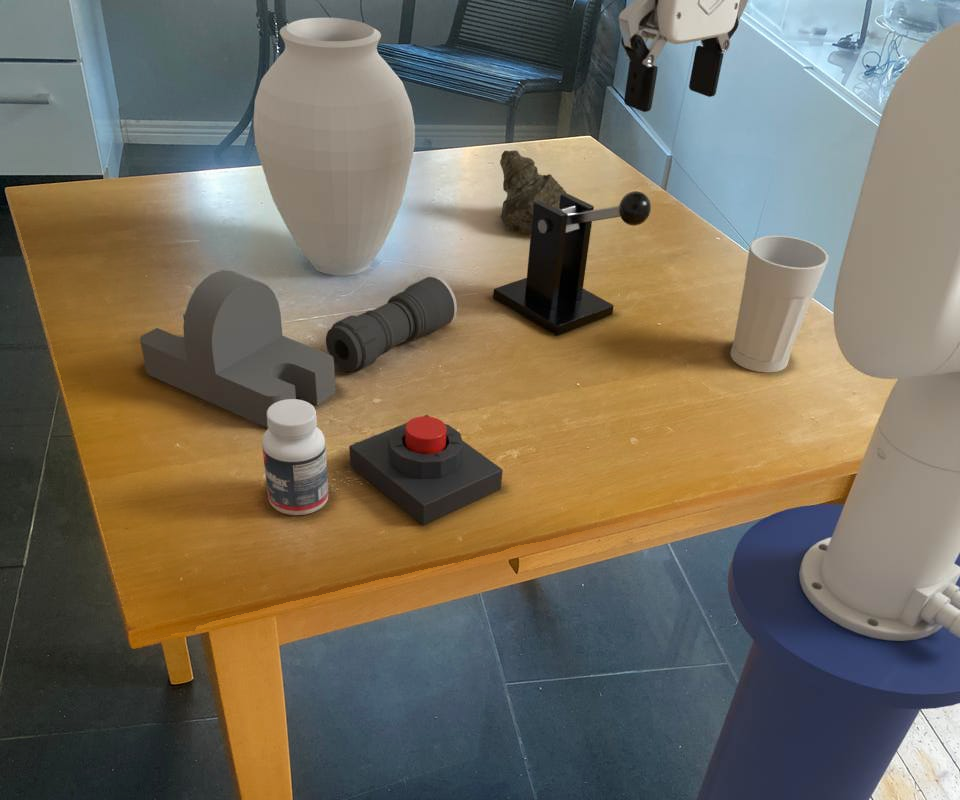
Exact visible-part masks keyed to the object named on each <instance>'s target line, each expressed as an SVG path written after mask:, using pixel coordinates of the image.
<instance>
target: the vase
mask: <svg viewBox="0 0 960 800" xmlns="http://www.w3.org/2000/svg"><path fill="white" fill-rule="evenodd" d="M279 35H280V36H281V38H282V41H283V42H284V46H285V47H284V50H283V52H281V54H280V55H278V57H277V59H276V60H275V61H274V62H273V64H272V65H271V66H270V68H269V69H268V70H267V71H266V73H265V74H264V75H263V77H262V78H261V80H260V83H259V86H258V89H257V92H256V96H255V99H254V107H253V109H254V110H253V136H254V145H255V148H256V152H257V155H258V158H259V161H260V164H261V167H262V171H263V175H264V177H265V180H266V184H267V187H268V191H269V193H270V196H271V199H272V201H273V203H274V205H275V207H276V208H277V211H278V213H279V215H280V217H281V218H282V219H281V220H282V221H283V223H284V224H285V226H286V228H287V230H288V231H289V233H290V235H291V237H292V239H293V241H294V242H295V244H296V245H297V247H298V249H299V250H300V251H301V253H302V254H303V255H304V257H305V258H306V259H308V260H309V262H310V263H311V265H312V267H313V268H314V269H315V270H316V271H317V272H319V273H322V274H325V275H329V276H337V277H348V276H354V275H358V274H361V273H364V272H365V271H367V270H368V269H369V268H370V266H371V263H372V262H373V261H374V259H375V258H376V257H377V255H378V254H379V253H380V251H381V249H382V248H383V246H384V244H385V243H386V241H387V238H388V237H389V234H390V232H391V231H392V228H393V226H394V223H395V221H396V218H397V216H398V213H399V211H400V209H401V206H402V203H403V200H404V197H405V192H406V188H407V182H408V179H409V173H410V169H411V165H412V161H413V156H414V150H415V146H416V145H415V144H416V124H415V118H414V112H413V106H412V103H411V101H410V98H409V95H408V93H407V89H406V88H405V85H404V83H403V81H402V79H401V78H400V77H399V76H398V75H397V74H396V73H395V71H394V70H393V69H392V67H391V66H390V65H389V63H388V62H387V61H386V60H384V58H383V57H382V56H381V55H380V54H379V51H378V44H379V42H380V40H381V37H382V34H381V32H380V31H379V30H378V29H376V28H374V27H373V26H371V25H369V24H367V23H365V22H363V21H358V20H354V19H350V18H349V19H348V18H339V17H310V18H302V19H298V20H295V21H292V22H290V23H287V24H286V25H284V26H283V27H281V28H280V30H279Z"/></svg>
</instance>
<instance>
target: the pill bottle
mask: <svg viewBox="0 0 960 800" xmlns="http://www.w3.org/2000/svg"><path fill="white" fill-rule="evenodd" d="M267 425H268V428H267V429H266V431H265V432H264V433H263V435H262V438H261V447H262V449H261V450H262V456H263V465H264V473H265V482H266V483H265V484H266V491H267V499H268V502H269V504H270V505H271V507H272V508H274V509H275V511H278V512H280V513H282V514H285V515H289V516H305V515H306V516H307V515H309V514H312V513H315V512H317V511H319V510H320V509H322V508H323V507H324V506H325V505H326V503H327V502H328V499H329V482H328V478H329V477H328V464H327V450H326V449H327V445H326V437H325V435H324V434H323V433H324V432H323V431H322V430H321V429H320V428H319V427H318V426H317V425H318V418H317V411H316V408H315V407H314V405H313V404H312V403H311V402H308V401H306V400H304V399H298V398H296V399H286V400H281V401H278V402H276V403H274V404H272V405H271V406H270V407H269V408H268V410H267Z"/></svg>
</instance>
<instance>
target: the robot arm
mask: <svg viewBox="0 0 960 800" xmlns="http://www.w3.org/2000/svg"><path fill="white" fill-rule="evenodd" d="M748 2H749V0H633V1H632V2H631V3H629V4H628V5H627V6H626V7H625V8H624V9H623V10H621V11H620V13H619V15H618V24H619V30H620V35H621V38H620V39H621V40H620V42H621V45H622V47H623V49H624V51H625V59H626V60H627V61H629V63H628V71H627V77H626V85H625V91H624V99H623V101H624V104H625V106H627V107H629V108H633V109H636V110H638V111H641V112H642V113H646V112H650V111H651V110H652V106H653V100H654V96H655V88H656V82H657V75H658V68H659V67H658V66H657V65H654V64H655V62H656V60H657V58H658V57H659V55H660V54H661V52H662V50H663V48H664V47H665V46H666V44H667V42H668V43H670V44H673V45H682V44H688V43H693V42H698V41H700V43H701V45H696V47H695V51H694V56H693V60H692V61H693V62H692V68H691V73H690V79H689V84H688V88H689V90H690V91H692V92H694V93H697V94H700V95H703V96H705V97H708V98H712V97H714V96H716V94H717V89H718V85H719V80H720V75H721V69H722V64H723V59H724V53H726V52H727V51H728V50H729V48H730V45H731V38H732V37H733V36H734V34H735V33H736V31H737V29H738V27H739V24H740V19H741V17H742V15H743V14H744V11H745V9H746V7H747V5H748ZM648 40H652V41H651V43H650V44H649V46H647V44H646V43H647V42H648ZM835 285H836V286H835V291H834V300H833V313H832V314H833V327H834V329H833V330H834V335H835V338H836V342H837V345H838V348H839V350H840V352H841V353H842V355H843V358H844V359H845V360H846V362H848V363H849V365H850V366H852V368H853V369H855V370H856V371H858V372H860V373H861V374H863V375H866V376H869V377H872V378H875V379H882V380H883V379H885V380H896V381H895V383H894V384H893V387H891V390H890V392H889V394H888V396H887V397H886V398H887V399H886V401H885V402H884V405H883V407H882V410H881V413H880V415H879V417H878V420H877V421H876V424H875V426H874V429H873V432H872V433H871V436H870V440H869V442H868V444H867V446H866V449H865V452H864V454H863V457H862V460H861V463H860V465H859V468H858V470H857V473H856V475H855V478H854V480H853V482H852V485H851V487H850V490H849V492H848V494H847V497H846V500H845V503H844V504H843V505H844V507H843V510H842V513H841V515H840V518H839V520H838V523H837V525H836V528H835V530H834V533H833V535H832V537H830V538H827V539H824V540H822V541H820V542H818V543H816V544H815V545H813V546H812V547H811V548H810V549H809V550H808V551H807V553H806V554H805V556H804V558H803V561H802V563H801V566H800V571H799V578H800V584H801V586H802V589H803V591H804V593H805V595H806V596H807V598H808V599H809V601H810V602H811V603H812V604H813V605H814V606H815V607H816V608H817V609H818V610H819V611H820V612H821V613H822V614H824V615H825V616H826V617H828V618H829V619H830V620H832V621H833V622H835V623H837V624H839V625H840V626H842V627H844V628H846V629H849V630H851V631H853V632H855V633H858V634H861V635H865V636H868V637H871V638H876V639H882V640H890V641H907V640H916V639H920V638H924V637H927V636H929V635H931V634H933V633H935V632H937V631H938V630H939V629H940V628H941V627H942V626H943V627H945V628H946V629H948V630H949V632H951V633H952V634H954V635H956V636H957V637H959V638H960V591H959V590H960V587H958V586H957V585H955V584H956V582H957V580H958V579H959V577H960V567H959V566H958V565H956V564H954V563H955V561H956V559H957V557H958V555H959V553H960V21H959V22H956V23H953V24H951V25H950V26H947V27H946V28H944V29H942V30H940V31H939V32H937V33H936V34H935V35H933V36H932V37H931V38H929V39H928V40H927V41H926V42H925V43H924V44H922V45H921V47H920V48H918V50H917V51H916V52H915V54H914V55H913V56H912V57H911V59H910V60H909V61H908V63H907V64H906V66H905V67H904V68H903V70H902V71H901V73H900V75H899V76H898V78H897V79H896V81H895V83H894V85H893V86H892V89H891V91H890V93H889V95H888V97H887V100H886V102H885V105H884V108H883V110H882V113H881V116H880V119H879V123H878V126H877V129H876V132H875V136H874V140H873V144H872V148H871V151H870V154H869V159H868V162H867V166H866V170H865V173H864V177H863V180H862V184H861V188H860V192H859V196H858V199H857V203H856V207H855V211H854V214H853V218H852V222H851V225H850V229H849V233H848V237H847V241H846V244H845V248H844V252H843V256H842V260H841V262H840V267H839V272H838V277H837V281H836V284H835ZM955 607H956V608H955Z"/></svg>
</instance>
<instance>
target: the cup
mask: <svg viewBox="0 0 960 800" xmlns="http://www.w3.org/2000/svg"><path fill="white" fill-rule="evenodd" d="M746 261H747V262H746V268H745V274H744V282H743V288H742V293H741V298H740V305H739V310H738V316H737V320H736V326H735V332H734V338H733V341H732V345H731V349H730V358H731V359H732V361H733V362H735V363H736V364H737V365H738V366H740V367H742V368H744V369H747V370H750V371H752V372H753V371H754V372H758V373H777V372H781V371H783V370H784V369H786V368H787V366H788V363H789V360H790V358H791V354H792V351H793V347H794V345H795V343H796V341H797V337H798V335H799V332H800V330H801V328H802V325H803V323H804V320H805V317H806V315H807V312H808V310H809V307H810V305H811V302H812V300H813V297H814V294H815V291H817V288H818V286H819V284H820V281H821V279H822V277H823V274H824V272H825V269H826V266H827V265H828V262H829V254H828V253H827V252H826V251H825V250H824V248H822V247H820V246H819V245H818V244H815V243H814V242H811V241H809V240H805V239H803V238H799V237H794V236H788V235H787V236H786V235H765V236H760V237H758V238H755V239H754V240H752V241H751V243H750V244H749V250H748V256H747V260H746Z"/></svg>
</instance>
